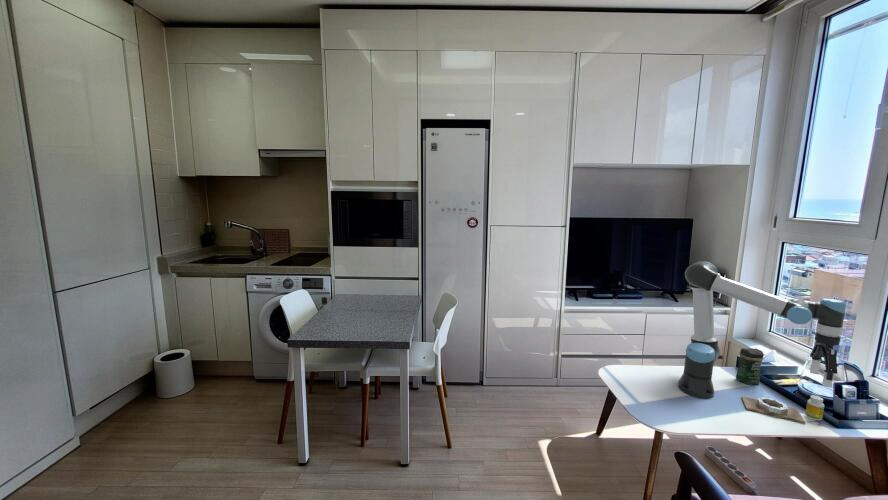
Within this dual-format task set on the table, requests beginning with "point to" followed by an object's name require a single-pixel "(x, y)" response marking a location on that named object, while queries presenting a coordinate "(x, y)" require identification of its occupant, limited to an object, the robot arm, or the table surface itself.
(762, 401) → the collar
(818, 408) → the supplement bottle
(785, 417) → the base plate
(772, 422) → the table surface
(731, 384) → the table surface
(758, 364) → the coffee jar
